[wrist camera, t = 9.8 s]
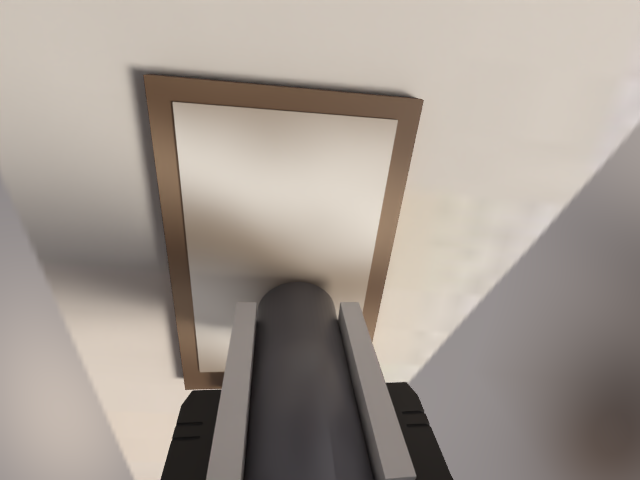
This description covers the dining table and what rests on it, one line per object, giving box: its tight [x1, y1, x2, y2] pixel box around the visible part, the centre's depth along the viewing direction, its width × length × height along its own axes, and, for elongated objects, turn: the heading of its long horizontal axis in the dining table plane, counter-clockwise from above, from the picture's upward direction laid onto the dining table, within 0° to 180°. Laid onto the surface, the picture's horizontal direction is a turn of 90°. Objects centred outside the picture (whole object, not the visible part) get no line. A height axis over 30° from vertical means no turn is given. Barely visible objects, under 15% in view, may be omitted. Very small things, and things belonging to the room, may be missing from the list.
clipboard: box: [143, 74, 424, 390], centre depth 14 cm, size 14×9×2 cm, turn 175°
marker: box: [244, 282, 374, 480], centre depth 9 cm, size 4×4×13 cm
